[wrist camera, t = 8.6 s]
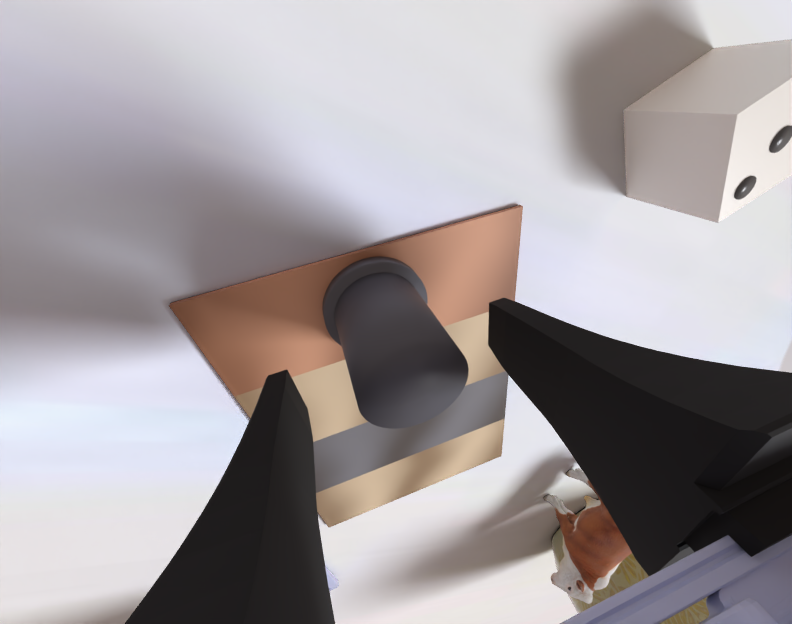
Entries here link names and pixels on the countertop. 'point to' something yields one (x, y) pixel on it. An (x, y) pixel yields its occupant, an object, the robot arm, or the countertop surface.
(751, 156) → the die
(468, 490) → the countertop surface
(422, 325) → the dark grey rounded knob
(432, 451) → the track board
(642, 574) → the vase
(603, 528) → the bull figurine
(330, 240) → the countertop surface
